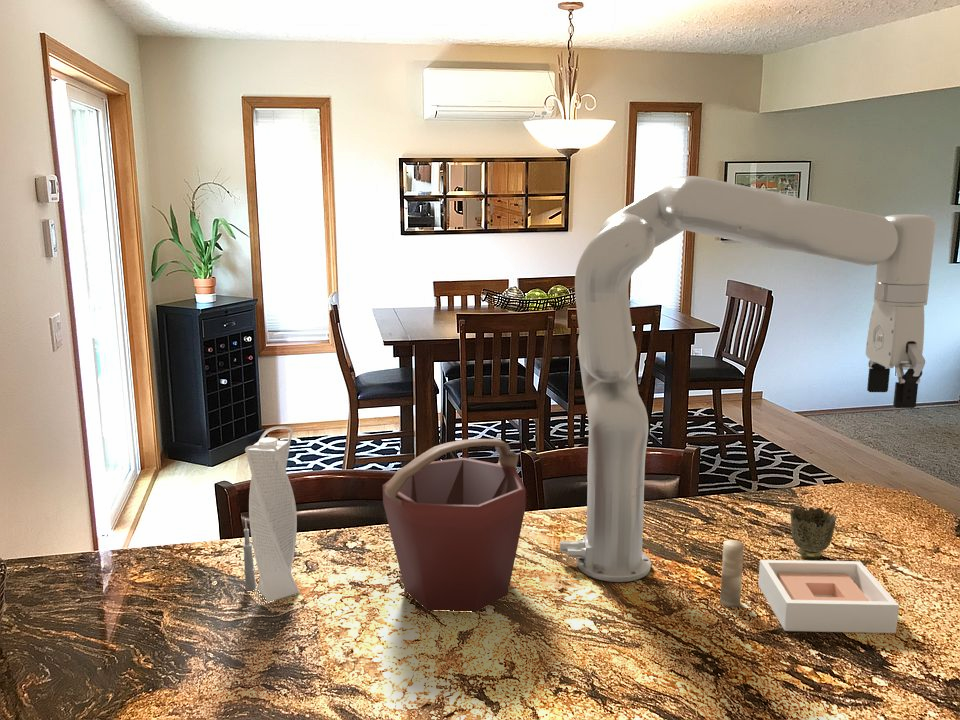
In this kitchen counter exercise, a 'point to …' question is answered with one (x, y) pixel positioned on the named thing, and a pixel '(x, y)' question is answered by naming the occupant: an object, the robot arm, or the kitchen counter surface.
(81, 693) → the kitchen counter surface
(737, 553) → the birch peg
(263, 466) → the skyscraper
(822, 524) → the cup
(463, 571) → the bucket
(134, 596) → the kitchen counter surface
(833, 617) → the open-top box
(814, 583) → the bored plate
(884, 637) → the kitchen counter surface
